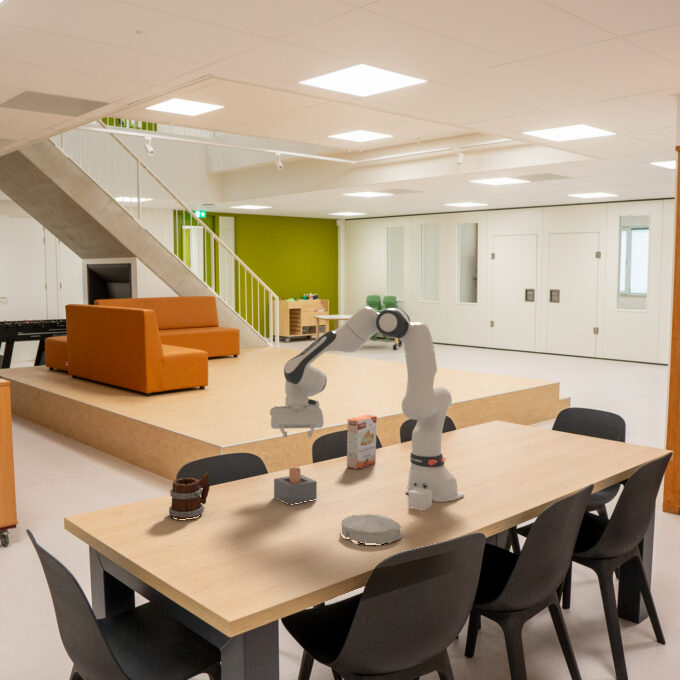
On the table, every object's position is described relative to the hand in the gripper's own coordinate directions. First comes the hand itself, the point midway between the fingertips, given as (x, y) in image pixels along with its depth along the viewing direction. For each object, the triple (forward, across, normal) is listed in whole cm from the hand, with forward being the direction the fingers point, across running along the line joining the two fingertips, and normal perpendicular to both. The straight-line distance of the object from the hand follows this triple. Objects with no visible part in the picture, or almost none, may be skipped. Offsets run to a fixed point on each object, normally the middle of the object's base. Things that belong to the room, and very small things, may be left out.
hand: (297, 436), depth 269 cm
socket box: (+23, -1, +5) cm, 24 cm away
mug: (+33, -37, -4) cm, 50 cm away
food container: (+50, +22, -20) cm, 58 cm away
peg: (+22, -1, +5) cm, 23 cm away
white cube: (+32, +42, -3) cm, 53 cm away
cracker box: (-7, +28, +36) cm, 46 cm away
